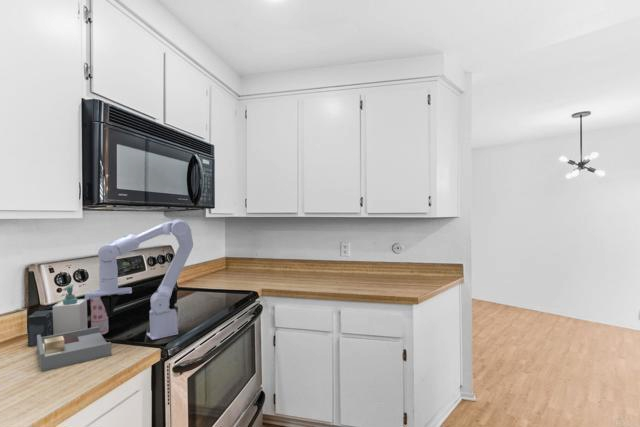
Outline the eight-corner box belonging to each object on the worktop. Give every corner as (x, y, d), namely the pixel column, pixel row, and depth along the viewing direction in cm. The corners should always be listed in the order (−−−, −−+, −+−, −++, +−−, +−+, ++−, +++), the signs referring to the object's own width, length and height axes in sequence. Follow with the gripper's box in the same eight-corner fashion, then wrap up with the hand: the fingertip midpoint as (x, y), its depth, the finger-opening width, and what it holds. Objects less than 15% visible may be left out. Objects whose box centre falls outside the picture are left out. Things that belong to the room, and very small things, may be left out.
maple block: (63, 346, 126) (62, 335, 126) (64, 350, 122) (64, 339, 122) (44, 349, 123) (44, 339, 123) (45, 354, 119) (45, 343, 119)
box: (47, 344, 133) (46, 315, 133) (27, 347, 131) (26, 316, 131) (54, 337, 140) (53, 309, 140) (35, 339, 138) (35, 311, 138)
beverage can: (101, 335, 141) (99, 296, 141) (87, 335, 142) (86, 295, 142) (111, 330, 147) (110, 292, 147) (99, 330, 148) (98, 292, 148)
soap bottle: (53, 341, 136) (51, 289, 135) (62, 333, 144) (60, 284, 144) (80, 339, 138) (78, 287, 138) (87, 331, 147) (86, 282, 146)
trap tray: (99, 337, 140) (99, 323, 140) (111, 354, 123) (111, 339, 123) (37, 349, 129) (36, 335, 128) (41, 371, 111) (40, 354, 111)
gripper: (128, 274, 142) (129, 310, 142) (83, 279, 132) (84, 317, 133) (132, 276, 136) (133, 314, 136) (86, 282, 127) (87, 322, 127)
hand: (109, 316), depth 134 cm, fingers closed
